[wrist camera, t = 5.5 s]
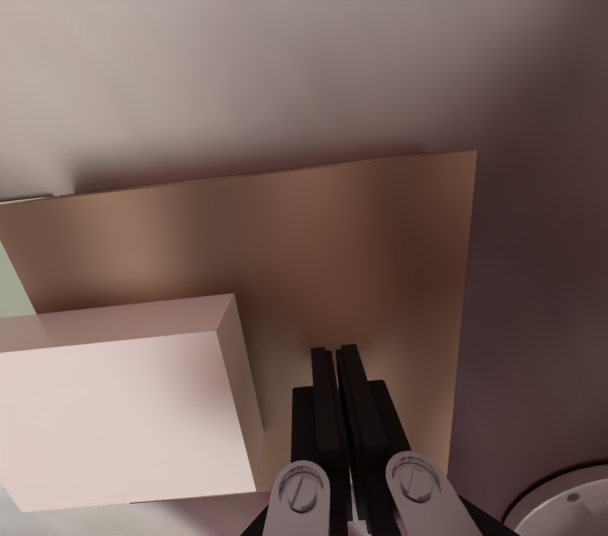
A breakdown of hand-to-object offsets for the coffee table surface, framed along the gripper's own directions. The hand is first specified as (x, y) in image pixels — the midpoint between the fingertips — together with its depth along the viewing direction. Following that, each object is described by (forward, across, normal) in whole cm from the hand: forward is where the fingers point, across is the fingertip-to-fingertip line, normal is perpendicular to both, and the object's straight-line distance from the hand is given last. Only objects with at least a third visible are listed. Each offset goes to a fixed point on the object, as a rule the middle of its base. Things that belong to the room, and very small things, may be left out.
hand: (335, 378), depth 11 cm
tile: (0, +8, 0) cm, 8 cm away
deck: (+5, +3, 0) cm, 6 cm away
